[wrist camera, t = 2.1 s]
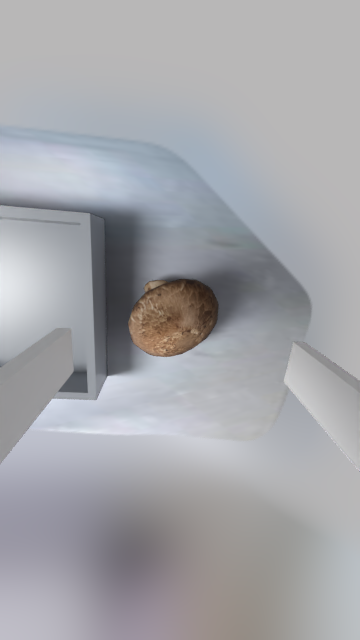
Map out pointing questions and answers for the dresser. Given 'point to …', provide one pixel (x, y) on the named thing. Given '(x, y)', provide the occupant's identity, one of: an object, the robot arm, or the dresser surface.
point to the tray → (55, 289)
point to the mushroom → (173, 317)
